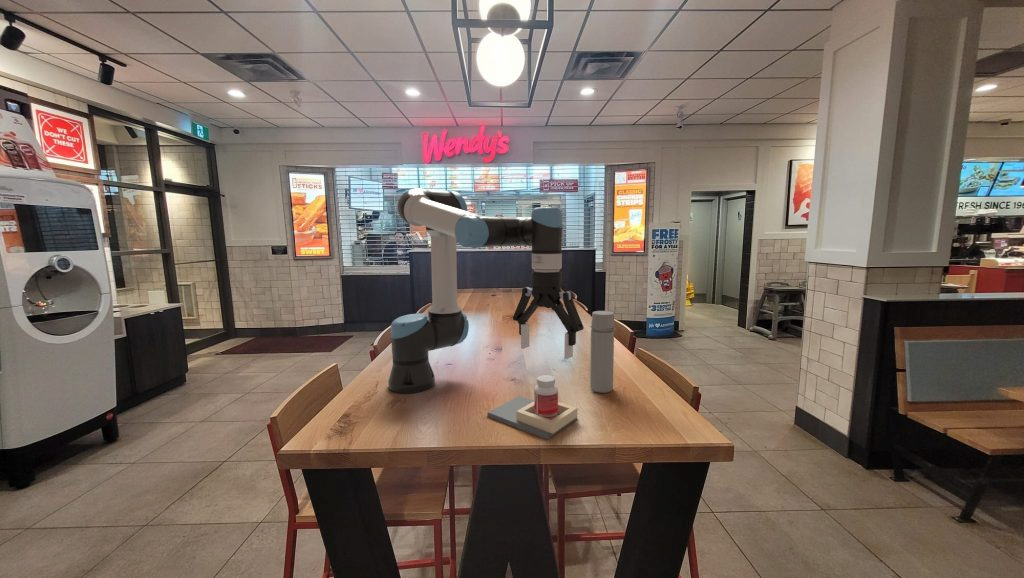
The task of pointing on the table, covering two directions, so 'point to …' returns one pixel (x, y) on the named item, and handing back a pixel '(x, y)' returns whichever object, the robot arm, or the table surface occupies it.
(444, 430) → the table surface
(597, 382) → the water bottle
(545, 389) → the pill bottle
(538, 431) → the socket board
